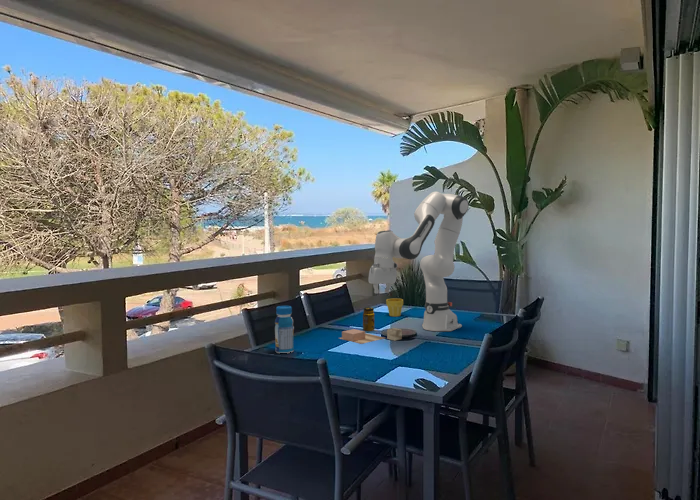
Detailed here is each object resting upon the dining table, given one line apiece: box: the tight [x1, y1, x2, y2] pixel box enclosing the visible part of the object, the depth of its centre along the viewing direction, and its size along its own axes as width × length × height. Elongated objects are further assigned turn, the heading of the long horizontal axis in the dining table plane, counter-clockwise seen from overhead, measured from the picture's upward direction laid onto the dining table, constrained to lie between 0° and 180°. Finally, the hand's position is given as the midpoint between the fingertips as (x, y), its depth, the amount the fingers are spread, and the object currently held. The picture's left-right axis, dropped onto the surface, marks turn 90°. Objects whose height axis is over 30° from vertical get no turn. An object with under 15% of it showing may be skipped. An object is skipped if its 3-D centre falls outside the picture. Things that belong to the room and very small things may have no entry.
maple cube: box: [386, 327, 403, 341], centre depth 237 cm, size 5×5×5 cm
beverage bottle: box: [274, 305, 295, 354], centre depth 217 cm, size 8×8×20 cm
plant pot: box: [385, 298, 404, 317], centre depth 298 cm, size 10×10×10 cm
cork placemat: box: [339, 332, 386, 345], centre depth 240 cm, size 17×16×1 cm
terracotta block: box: [341, 328, 366, 342], centre depth 238 cm, size 8×8×4 cm
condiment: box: [362, 307, 378, 332], centre depth 257 cm, size 7×8×12 cm
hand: (381, 293), depth 234 cm, fingers open, 8 cm apart
